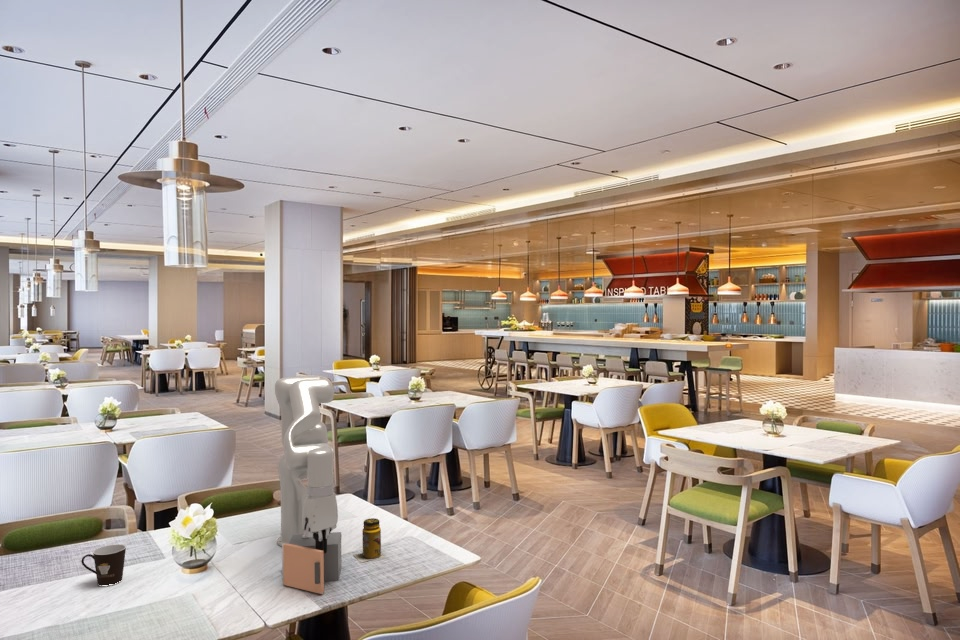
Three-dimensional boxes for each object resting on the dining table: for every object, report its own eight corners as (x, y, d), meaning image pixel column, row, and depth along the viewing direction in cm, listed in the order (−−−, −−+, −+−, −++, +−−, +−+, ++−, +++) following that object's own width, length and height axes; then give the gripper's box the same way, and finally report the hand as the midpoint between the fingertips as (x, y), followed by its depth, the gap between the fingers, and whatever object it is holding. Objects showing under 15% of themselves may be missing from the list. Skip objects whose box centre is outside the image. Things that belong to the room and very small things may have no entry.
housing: (293, 569, 197) (293, 532, 197) (341, 566, 199) (341, 529, 199) (287, 583, 186) (287, 544, 186) (338, 580, 188) (337, 541, 188)
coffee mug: (132, 578, 191) (132, 546, 191) (108, 589, 183) (107, 556, 183) (104, 573, 195) (104, 542, 195) (79, 584, 187) (78, 551, 187)
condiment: (385, 557, 206) (385, 521, 206) (361, 562, 201) (361, 526, 202) (376, 550, 212) (376, 515, 212) (353, 556, 208) (352, 520, 208)
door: (284, 582, 185) (283, 542, 186) (323, 592, 178) (323, 550, 178) (279, 585, 184) (278, 544, 184) (319, 595, 177) (318, 553, 177)
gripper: (332, 483, 192) (333, 542, 192) (291, 494, 180) (292, 557, 180) (348, 487, 187) (349, 547, 187) (307, 498, 175) (308, 563, 175)
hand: (321, 552), depth 183 cm, fingers closed
